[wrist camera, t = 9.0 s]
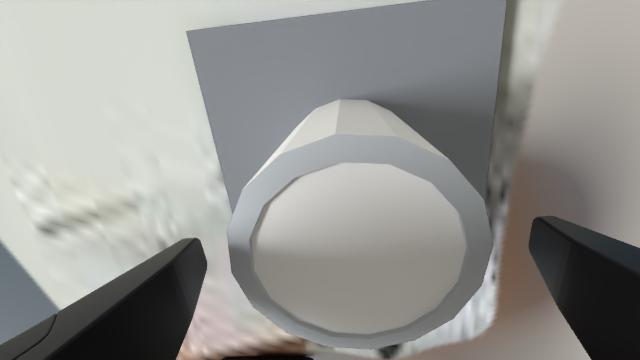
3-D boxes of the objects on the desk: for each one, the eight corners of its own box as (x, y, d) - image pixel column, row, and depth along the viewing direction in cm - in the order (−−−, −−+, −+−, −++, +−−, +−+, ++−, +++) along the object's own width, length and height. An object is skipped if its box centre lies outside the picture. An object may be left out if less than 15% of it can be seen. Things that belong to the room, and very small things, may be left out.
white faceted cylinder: (332, 46, 13) (323, 67, 7) (461, 145, 14) (557, 240, 8) (246, 176, 16) (181, 281, 9) (363, 249, 17) (377, 384, 11)
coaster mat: (474, 253, 17) (478, 261, 17) (250, 265, 19) (247, 272, 18) (500, -9, 12) (507, -10, 12) (192, 30, 14) (185, 31, 13)
